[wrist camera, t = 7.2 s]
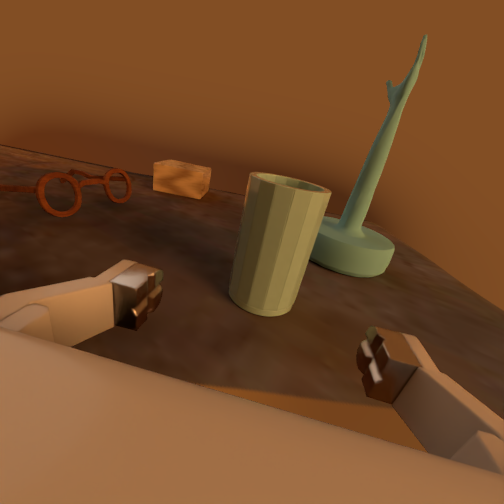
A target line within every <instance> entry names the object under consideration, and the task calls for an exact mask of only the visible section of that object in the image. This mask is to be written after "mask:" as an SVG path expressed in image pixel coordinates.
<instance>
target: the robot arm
mask: <svg viewBox="0 0 504 504" xmlns="http://www.w3.org/2000/svg"><path fill="white" fill-rule="evenodd" d="M162 280H163V271H162V270H161V269H158V268H155V267H151V266H148V265H144V264H141V263H137V262H134V261H130V260H122V261H120V262H119V263H117V264H116V265H114V266H113V267H111V268H109V269H108V270H106V271H105V272H103V273H102V274H100V275H98V276H97V277H95V278H92V277H88V278H83V279H78V280H73V281H68V282H63V283H58V284H53V285H48V286H43V287H38V288H33V289H28V290H23V291H18V292H13V293H8V294H4V295H2V296H0V504H504V420H503V419H502V418H500V417H499V416H498V415H496V414H495V413H494V412H493V411H491V410H490V409H489V408H488V407H486V406H485V405H484V404H483V403H481V402H480V401H479V400H477V399H476V398H475V397H474V396H472V395H471V394H470V393H469V392H467V391H466V390H465V389H463V388H462V387H461V386H460V385H458V384H457V383H456V382H455V381H453V380H452V379H451V378H450V377H448V376H447V375H446V374H444V373H440V372H439V370H438V369H437V367H436V366H435V364H434V363H433V361H432V360H431V358H430V357H429V355H428V353H427V352H426V350H425V349H424V347H423V346H422V344H421V343H420V341H419V340H418V338H416V337H415V336H413V335H409V334H405V333H400V332H395V331H391V330H387V329H383V328H379V327H375V326H370V327H369V328H368V330H367V332H366V333H365V334H366V337H367V340H365V341H363V342H361V343H360V345H359V347H358V349H357V355H356V360H357V365H358V369H359V370H360V371H361V372H362V373H363V374H364V375H363V377H362V383H363V386H364V389H365V392H366V396H367V397H370V398H373V399H377V400H380V401H383V402H386V403H389V404H392V407H393V408H394V409H395V410H396V412H397V413H398V414H399V416H400V417H401V418H402V419H403V421H404V422H405V423H406V424H407V426H408V427H409V429H410V430H411V431H412V432H413V433H414V435H415V436H416V438H417V439H418V440H419V441H420V443H421V444H422V445H423V446H424V448H425V449H426V451H427V452H428V453H426V452H423V451H420V450H416V449H413V448H409V447H406V446H403V445H399V444H396V443H392V442H389V441H386V440H382V439H379V438H375V437H372V436H369V435H365V434H362V433H359V432H355V431H352V430H349V429H345V428H342V427H338V426H335V425H332V424H328V423H325V422H322V421H318V420H315V419H312V418H308V417H305V416H301V415H298V414H295V413H291V412H288V411H285V410H281V409H278V408H274V407H271V406H268V405H264V404H261V403H257V402H254V401H250V400H247V399H244V398H240V397H237V396H233V395H230V394H227V393H223V392H220V391H217V390H213V389H210V388H206V387H203V386H200V385H196V384H193V383H190V382H186V381H183V380H179V379H176V378H173V377H169V376H166V375H162V374H159V373H156V372H152V371H149V370H145V369H142V368H139V367H135V366H132V365H129V364H125V363H122V362H118V361H115V360H112V359H108V358H105V357H101V356H98V355H95V354H91V353H88V352H84V351H81V350H78V349H74V348H71V347H72V346H74V345H76V344H78V343H80V342H82V341H84V340H86V339H89V338H91V337H93V336H95V335H97V334H99V333H101V332H103V331H105V330H108V329H110V328H112V327H114V325H116V326H120V327H124V328H128V329H131V330H135V331H137V330H138V329H139V328H140V327H141V325H142V324H143V323H144V322H145V321H146V320H147V314H148V313H151V312H154V310H155V309H156V308H157V307H158V305H159V303H160V301H161V298H162V292H163V289H162V287H161V285H160V284H159V283H160V282H161V281H162Z"/></svg>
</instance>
